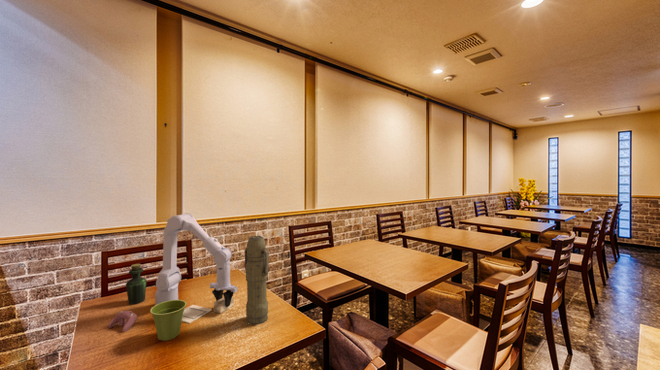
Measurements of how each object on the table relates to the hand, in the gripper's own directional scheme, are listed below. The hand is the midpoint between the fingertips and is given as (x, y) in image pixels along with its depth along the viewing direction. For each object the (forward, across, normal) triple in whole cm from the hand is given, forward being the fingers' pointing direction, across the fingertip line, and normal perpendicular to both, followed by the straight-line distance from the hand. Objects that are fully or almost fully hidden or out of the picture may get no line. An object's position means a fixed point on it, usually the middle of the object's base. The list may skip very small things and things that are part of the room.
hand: (223, 305), depth 124 cm
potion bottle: (+2, -45, -10) cm, 46 cm away
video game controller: (+2, -27, -27) cm, 38 cm away
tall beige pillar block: (+1, 0, 0) cm, 1 cm away
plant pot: (+2, -4, -24) cm, 25 cm away
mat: (+2, -10, -9) cm, 14 cm away
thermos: (+2, +20, -2) cm, 20 cm away
